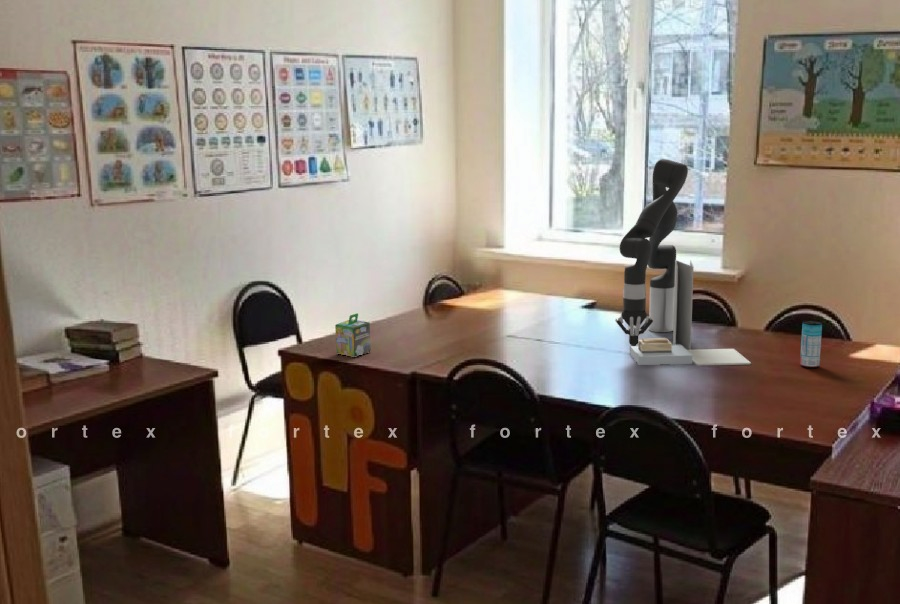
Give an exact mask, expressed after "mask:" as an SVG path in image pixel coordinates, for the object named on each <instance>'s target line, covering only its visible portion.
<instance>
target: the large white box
mask: <svg viewBox="0 0 900 604" xmlns="http://www.w3.org/2000/svg"><path fill="white" fill-rule="evenodd" d="M687 350H688V349H687V348H685V347H684V346H682V345H681V344H679V343H676V345H674V344H672V353H641V351H640V350H639V349H638V344H636V346H631V345H629V355H630V354H631V355H630V357H632V359H633V358H634V359H633V360H634V361H635V363H636V362H637V363H636V364H637V365H638V366H661V365H660V364H670V365H693V361H692V354H691V353H690V352H688V351H687Z"/></svg>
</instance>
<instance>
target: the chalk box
mask: <svg viewBox="0 0 900 604" xmlns="http://www.w3.org/2000/svg"><path fill="white" fill-rule="evenodd" d="M358 317H359V313H354V314H350V316H349V319H347V320H345V321H342V322H340V323H339V322H338V323H336V324H335V325H334V326H335V341H336V343H335V344H336V354H337V353H341V354H346V355H350V356H358V355H362V354H365V353H368V352H370V351H371V328H370V327H371V325H370V323H371V322H370V321H364V320H358ZM353 318H354V319H353ZM368 354H369V353H368ZM365 355H366V354H365ZM362 356H363V355H362Z"/></svg>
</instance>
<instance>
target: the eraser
mask: <svg viewBox="0 0 900 604" xmlns="http://www.w3.org/2000/svg"><path fill="white" fill-rule="evenodd" d="M637 345H638V349H639V350H640V351H641V353H672V345H673V342H671V341H670V340H669V339H668V338H666V337H656V338H655V337H654V338H653V337H651V338H650V337H649V338H648V337H647V338H642V339H638V344H637Z"/></svg>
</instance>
